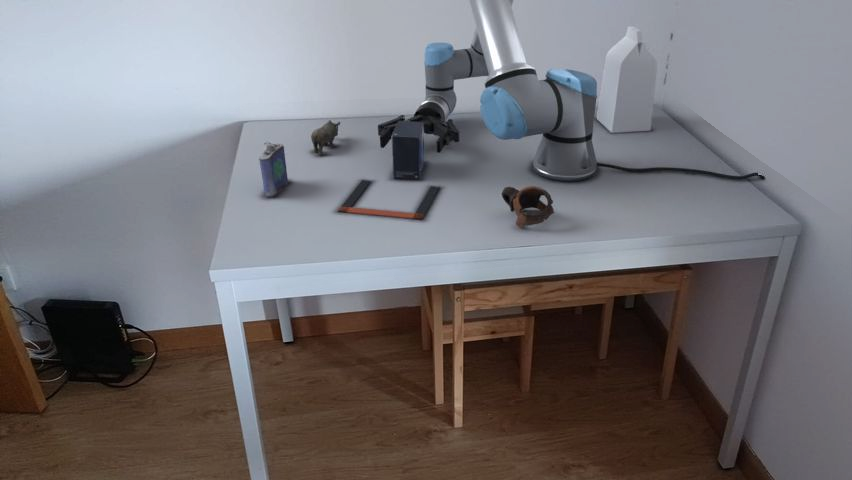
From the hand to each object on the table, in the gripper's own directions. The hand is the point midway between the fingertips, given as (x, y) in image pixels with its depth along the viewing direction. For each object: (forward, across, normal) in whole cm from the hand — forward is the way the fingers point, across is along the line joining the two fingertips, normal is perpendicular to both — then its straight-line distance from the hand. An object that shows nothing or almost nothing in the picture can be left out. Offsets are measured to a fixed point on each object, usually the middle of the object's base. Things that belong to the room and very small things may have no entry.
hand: (409, 144), depth 162 cm
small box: (+1, 0, -6) cm, 6 cm away
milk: (-44, -50, -6) cm, 67 cm away
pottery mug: (+20, -30, -6) cm, 37 cm away
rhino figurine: (-10, +24, -6) cm, 27 cm away
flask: (+18, +26, -6) cm, 32 cm away
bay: (+17, 0, -6) cm, 18 cm away
